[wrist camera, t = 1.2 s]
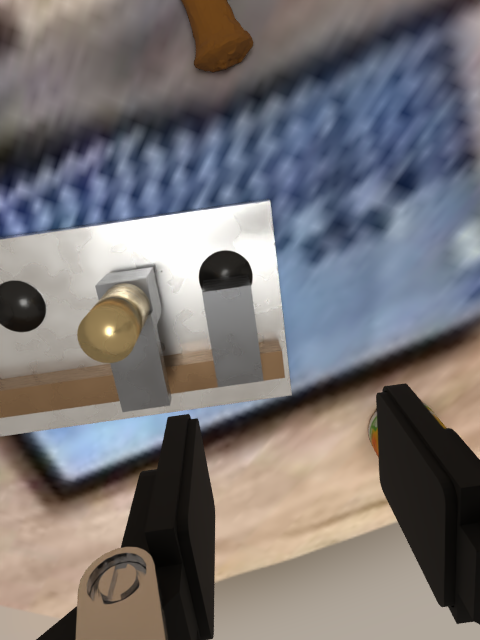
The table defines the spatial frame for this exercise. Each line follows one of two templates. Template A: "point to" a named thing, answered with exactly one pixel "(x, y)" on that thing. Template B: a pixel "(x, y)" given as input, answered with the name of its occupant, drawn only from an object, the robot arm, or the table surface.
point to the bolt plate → (173, 325)
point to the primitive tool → (216, 34)
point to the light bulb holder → (128, 337)
